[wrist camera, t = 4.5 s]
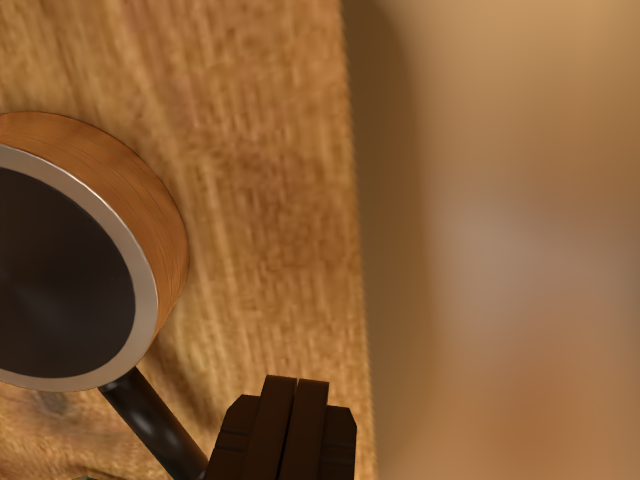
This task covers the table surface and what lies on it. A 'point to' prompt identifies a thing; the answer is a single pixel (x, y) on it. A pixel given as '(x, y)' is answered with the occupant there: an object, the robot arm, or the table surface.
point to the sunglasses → (84, 478)
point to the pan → (89, 273)
